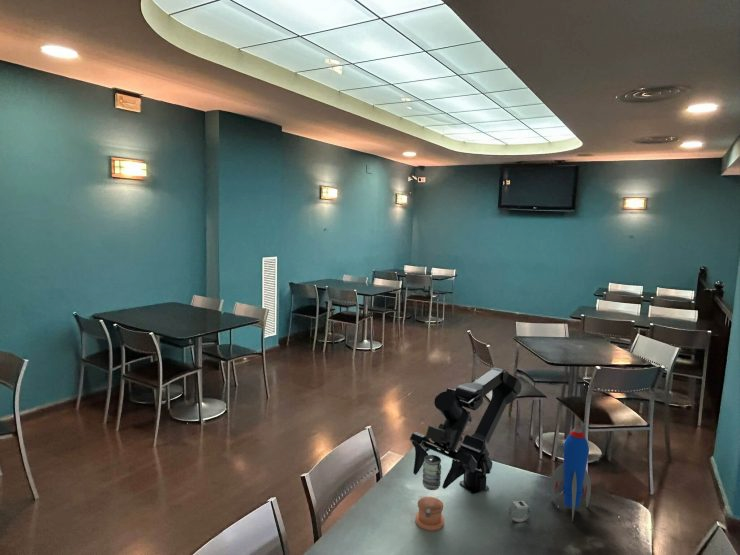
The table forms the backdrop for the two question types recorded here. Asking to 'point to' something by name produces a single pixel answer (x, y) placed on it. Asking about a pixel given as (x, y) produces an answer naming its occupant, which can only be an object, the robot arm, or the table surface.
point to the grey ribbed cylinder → (431, 472)
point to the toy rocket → (573, 470)
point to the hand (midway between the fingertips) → (428, 481)
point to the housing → (430, 514)
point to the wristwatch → (519, 506)
